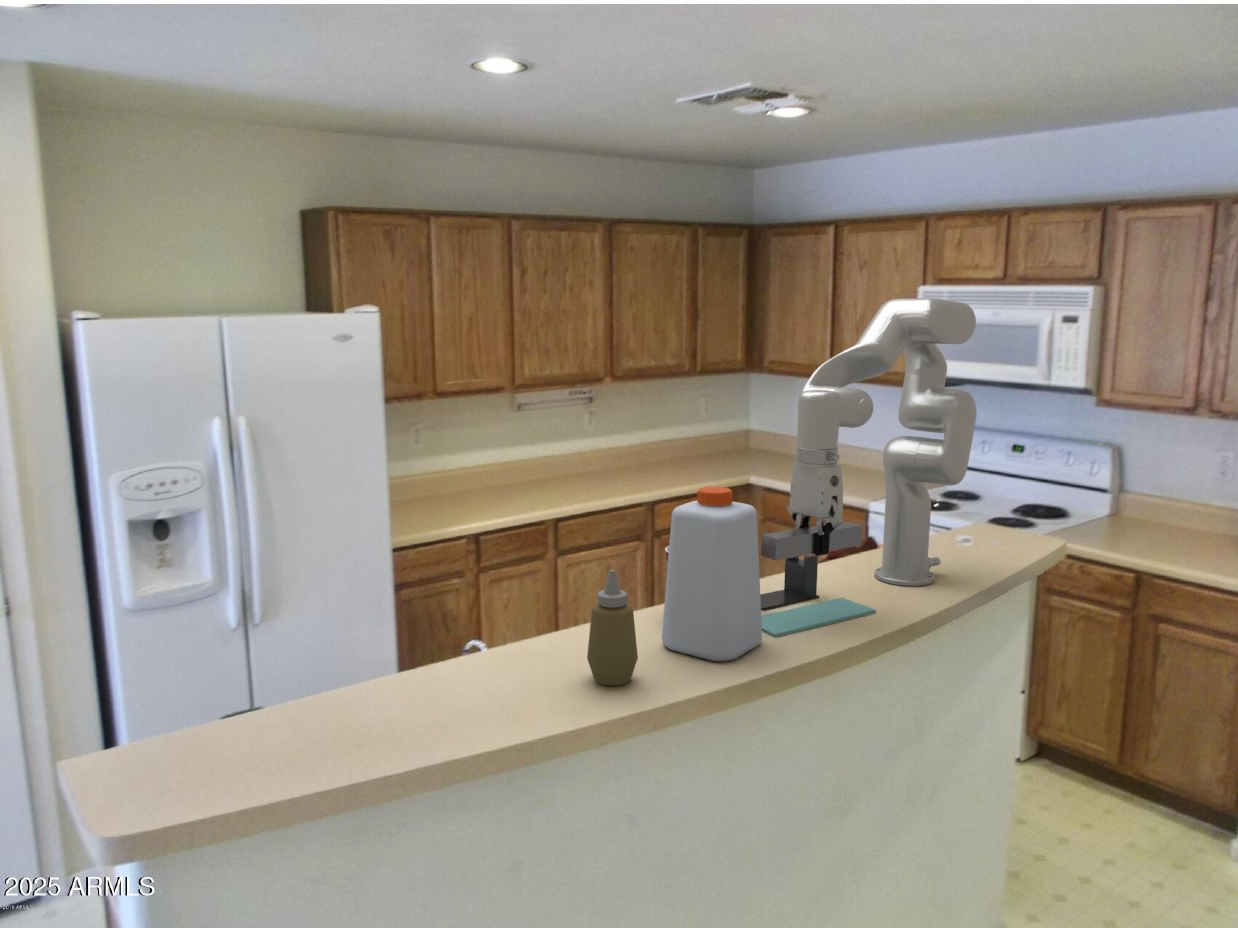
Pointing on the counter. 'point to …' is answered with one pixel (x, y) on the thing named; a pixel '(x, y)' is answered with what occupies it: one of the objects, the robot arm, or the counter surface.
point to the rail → (808, 541)
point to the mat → (812, 616)
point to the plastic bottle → (713, 578)
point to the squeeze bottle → (612, 636)
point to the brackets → (794, 584)
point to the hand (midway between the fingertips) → (812, 550)
